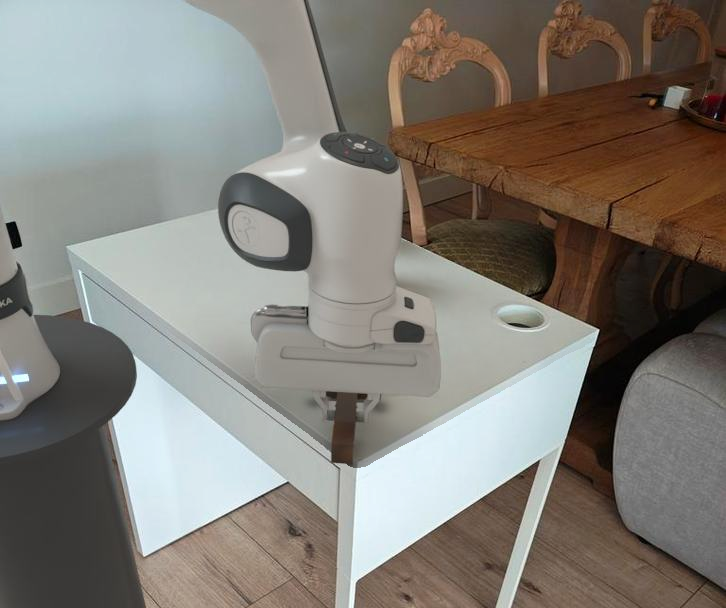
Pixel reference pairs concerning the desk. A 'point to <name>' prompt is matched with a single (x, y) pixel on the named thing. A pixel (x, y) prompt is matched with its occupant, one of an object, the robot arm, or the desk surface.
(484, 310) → the desk surface
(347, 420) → the brown t-shaped block
